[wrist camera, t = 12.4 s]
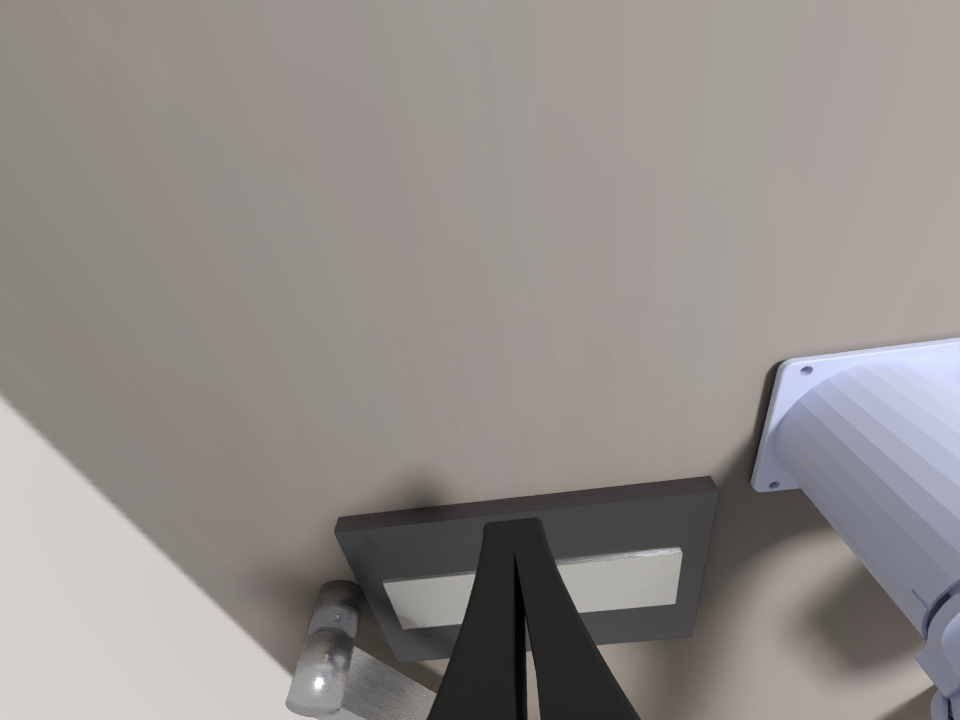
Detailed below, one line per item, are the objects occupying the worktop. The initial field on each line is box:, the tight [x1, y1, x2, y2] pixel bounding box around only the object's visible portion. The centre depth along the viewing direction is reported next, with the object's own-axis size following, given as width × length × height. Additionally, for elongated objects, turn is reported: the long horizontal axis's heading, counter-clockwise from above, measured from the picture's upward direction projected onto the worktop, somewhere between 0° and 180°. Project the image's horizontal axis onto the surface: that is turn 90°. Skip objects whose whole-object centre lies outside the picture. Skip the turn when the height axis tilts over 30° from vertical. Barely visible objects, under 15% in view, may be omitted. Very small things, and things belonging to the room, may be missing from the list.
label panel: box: [306, 476, 719, 663], centre depth 26 cm, size 23×14×3 cm, turn 98°
